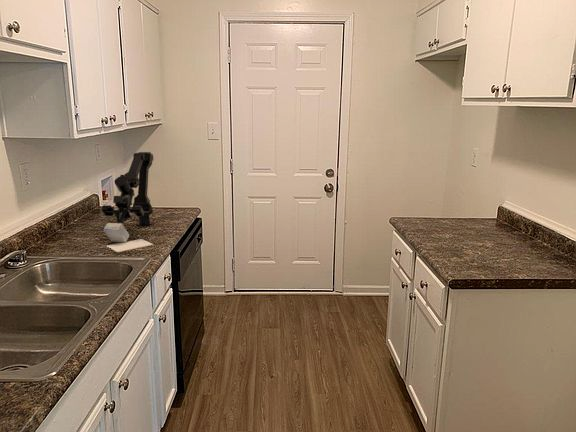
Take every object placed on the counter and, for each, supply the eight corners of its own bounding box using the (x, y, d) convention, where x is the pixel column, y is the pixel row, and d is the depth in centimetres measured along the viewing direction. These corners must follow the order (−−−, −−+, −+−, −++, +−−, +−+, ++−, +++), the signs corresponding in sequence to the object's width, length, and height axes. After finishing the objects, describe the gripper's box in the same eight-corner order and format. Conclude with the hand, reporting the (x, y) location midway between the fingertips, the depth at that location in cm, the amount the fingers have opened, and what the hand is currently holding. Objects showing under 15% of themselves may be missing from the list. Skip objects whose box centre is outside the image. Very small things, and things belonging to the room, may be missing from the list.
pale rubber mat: (106, 246, 212) (106, 245, 212) (141, 239, 223) (141, 238, 223) (117, 252, 203) (117, 251, 203) (153, 244, 214) (153, 244, 214)
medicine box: (130, 235, 219) (122, 222, 213) (125, 242, 216) (117, 230, 210) (115, 235, 221) (107, 222, 215) (111, 242, 218) (102, 229, 212)
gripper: (101, 188, 218) (92, 216, 210) (140, 188, 217) (133, 217, 209) (109, 201, 227) (101, 229, 219) (147, 202, 227) (140, 229, 218)
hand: (118, 226), depth 216 cm, fingers closed
